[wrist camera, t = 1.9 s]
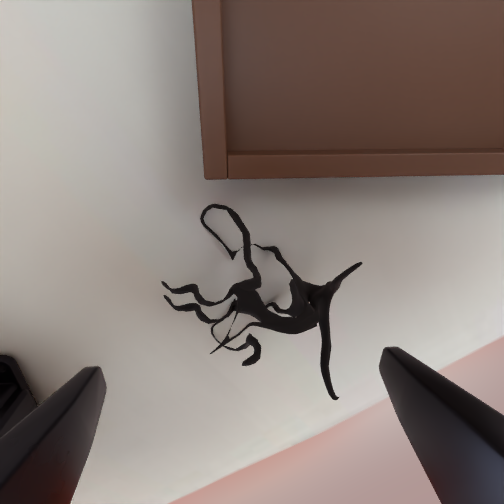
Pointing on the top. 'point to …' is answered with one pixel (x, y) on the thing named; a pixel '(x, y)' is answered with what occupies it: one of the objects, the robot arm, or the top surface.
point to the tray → (350, 87)
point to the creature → (252, 304)
